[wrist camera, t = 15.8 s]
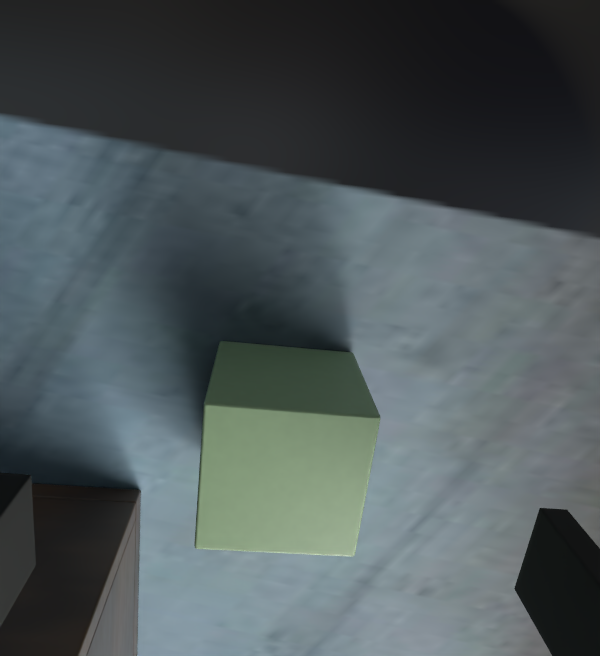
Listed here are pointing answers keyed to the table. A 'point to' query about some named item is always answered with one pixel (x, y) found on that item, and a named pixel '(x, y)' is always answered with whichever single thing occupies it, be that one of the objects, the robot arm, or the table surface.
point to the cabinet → (79, 576)
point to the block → (284, 451)
